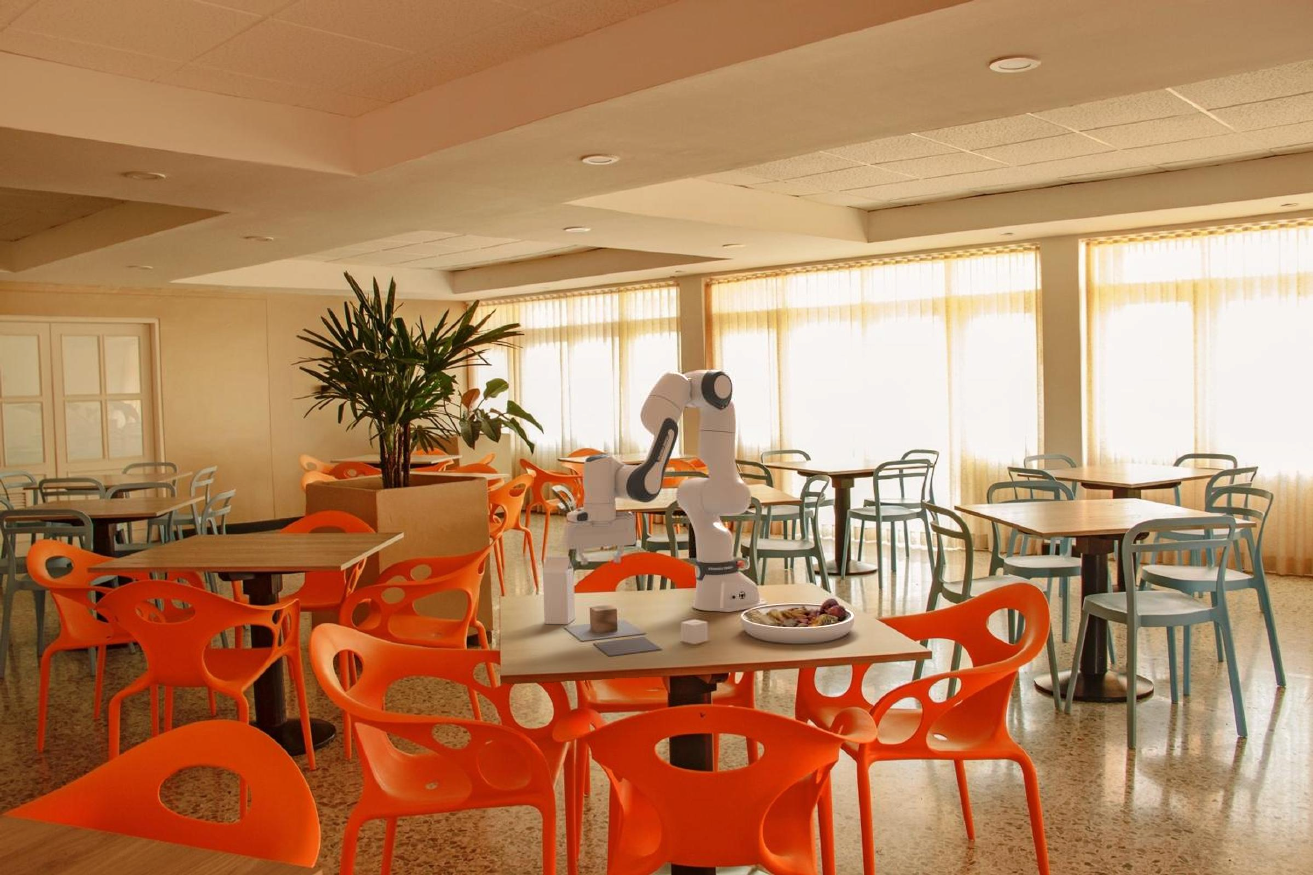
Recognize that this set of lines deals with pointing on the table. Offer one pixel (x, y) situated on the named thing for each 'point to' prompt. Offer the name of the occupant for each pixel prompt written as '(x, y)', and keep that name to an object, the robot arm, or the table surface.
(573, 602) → the milk carton
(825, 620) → the bowl
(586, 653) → the table surface
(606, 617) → the walnut block
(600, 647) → the mat
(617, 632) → the tile
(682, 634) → the beige block
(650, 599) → the table surface
